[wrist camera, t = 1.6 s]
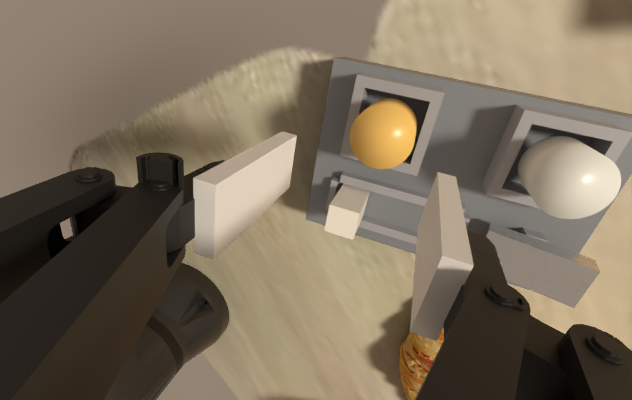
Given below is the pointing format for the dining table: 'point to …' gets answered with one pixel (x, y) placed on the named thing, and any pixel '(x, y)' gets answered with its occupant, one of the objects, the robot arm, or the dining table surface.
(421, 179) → the panel
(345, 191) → the slider knob
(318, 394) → the dining table surface
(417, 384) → the croissant
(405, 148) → the amber button
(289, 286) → the dining table surface
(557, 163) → the white button
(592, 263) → the plate
